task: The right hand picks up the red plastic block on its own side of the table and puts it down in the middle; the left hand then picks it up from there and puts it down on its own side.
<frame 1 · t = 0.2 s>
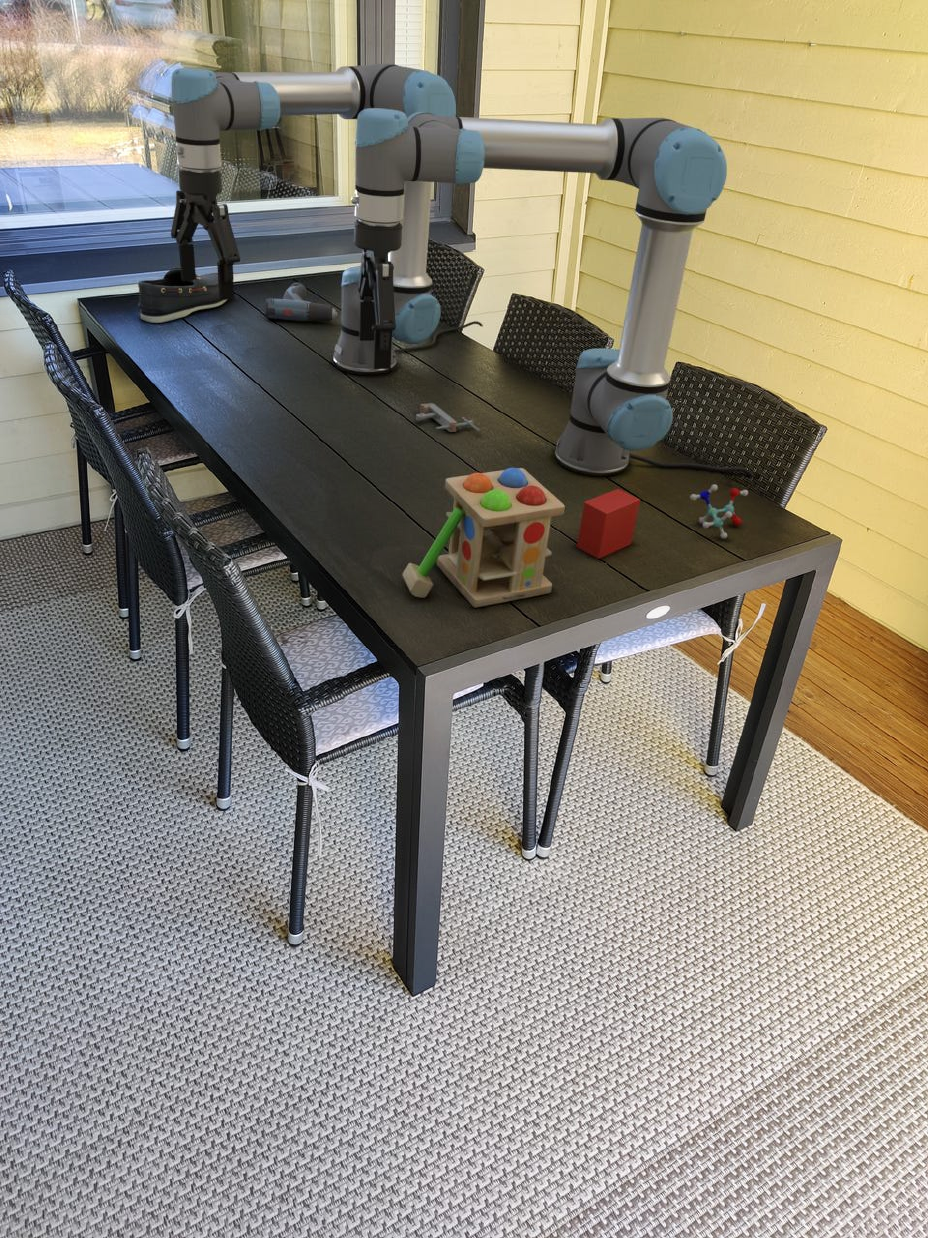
left hand: (207, 289, 186), 28 cm above the table, tool pointing down, fingers open, 13 cm apart
right hand: (374, 353, 165), 28 cm above the table, tool pointing down, fingers open, 13 cm apart
block: (604, 545, 174), on the table
boat shoe: (186, 307, 263), on the table
molecular model: (712, 527, 183), on the table
clamp: (444, 425, 212), on the table
power drill: (305, 313, 267), on the table
pounding bench toy: (470, 583, 160), on the table
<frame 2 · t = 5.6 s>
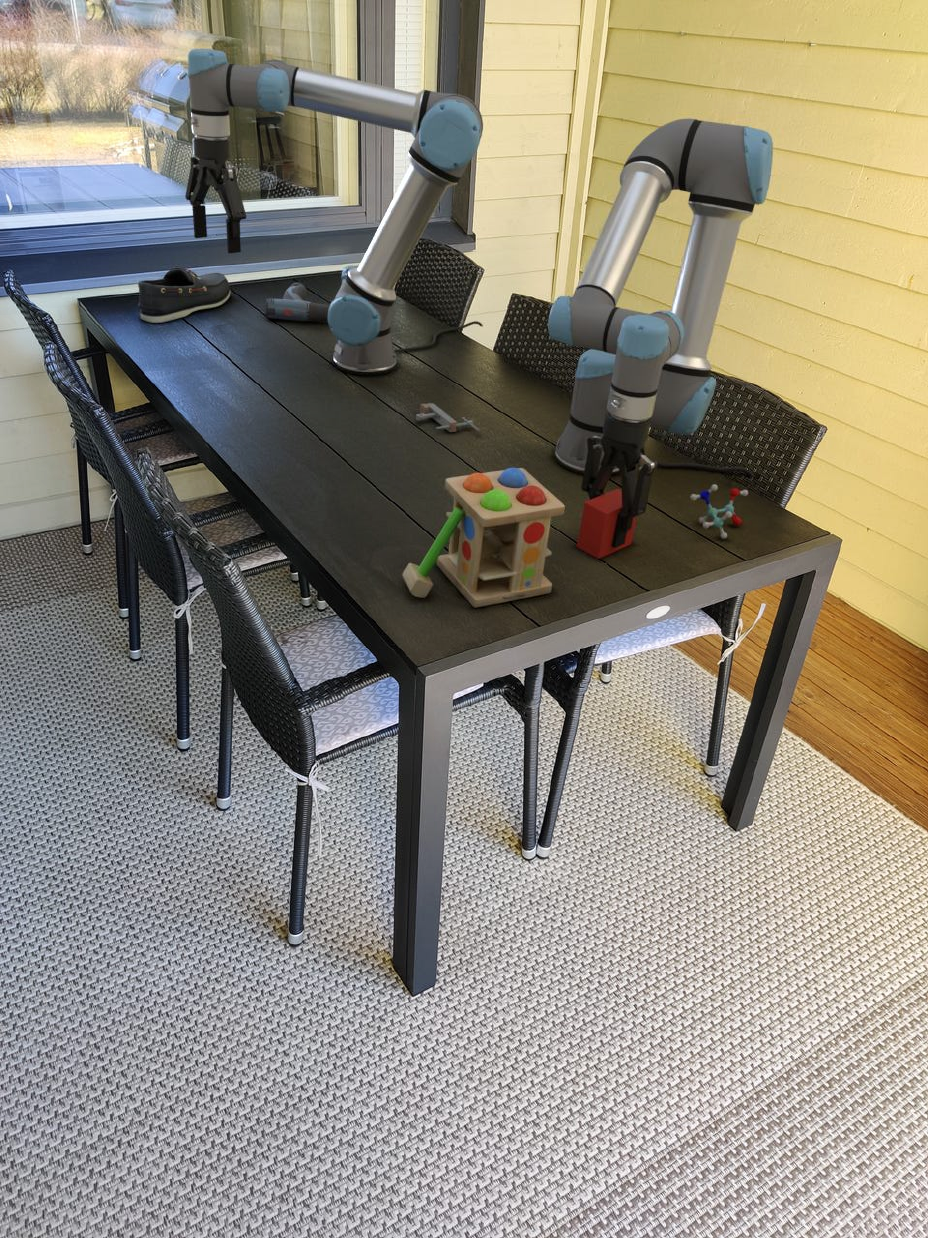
left hand: (217, 244, 212), 28 cm above the table, tool pointing down, fingers open, 13 cm apart
right hand: (605, 537, 173), 2 cm above the table, tool pointing down, fingers closed on block, 5 cm apart
block: (604, 545, 174), on the table, touching right hand
everything else where it was.
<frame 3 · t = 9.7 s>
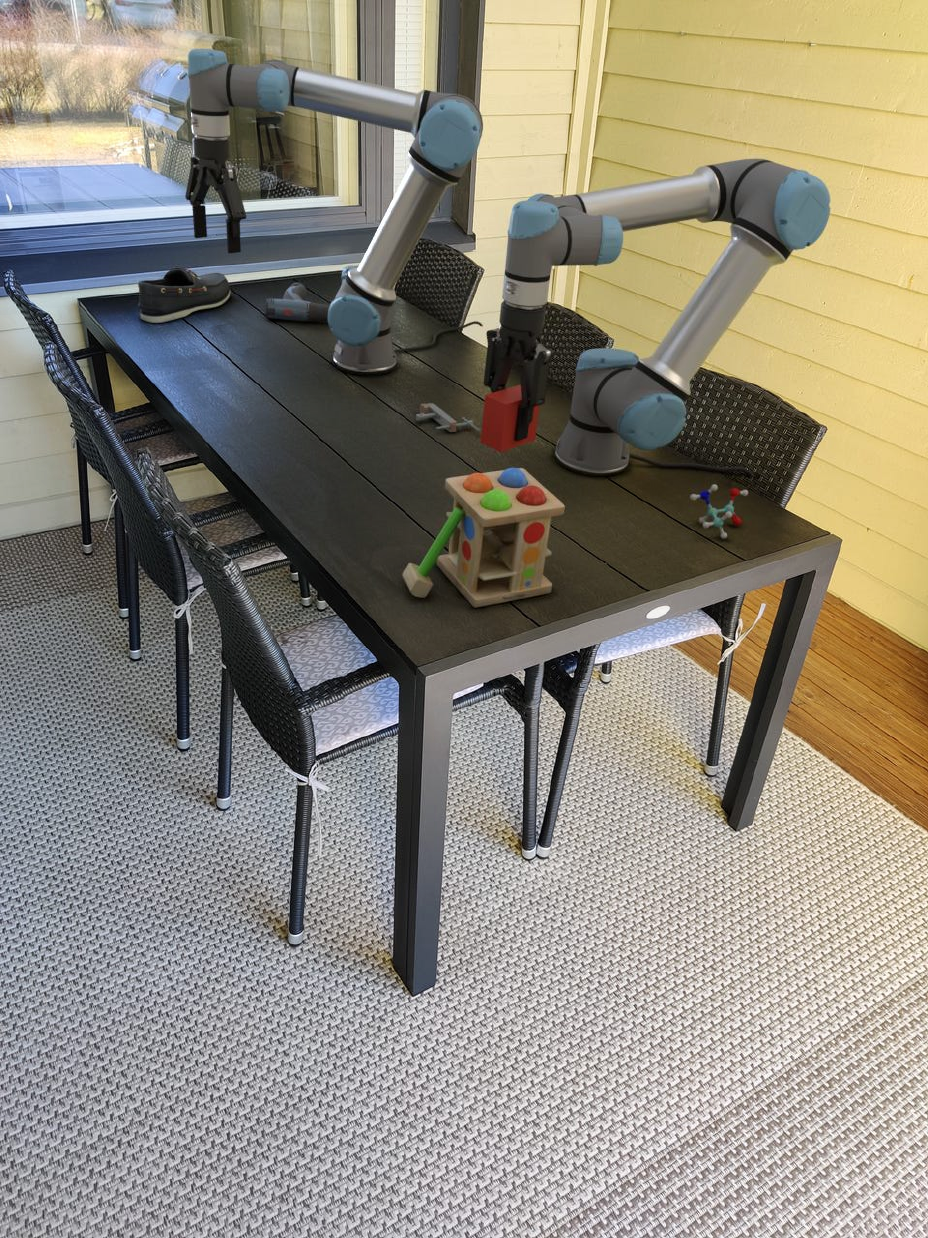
left hand: (217, 244, 212), 28 cm above the table, tool pointing down, fingers open, 13 cm apart
right hand: (508, 433, 175), 15 cm above the table, tool pointing down, fingers closed on block, 5 cm apart
block: (507, 441, 176), point 13 cm above the table, touching right hand
everything else where it was.
when the right hand's fingers open (3 cm above the table, at t = 13.9 s): block drops 2 cm, on the table.
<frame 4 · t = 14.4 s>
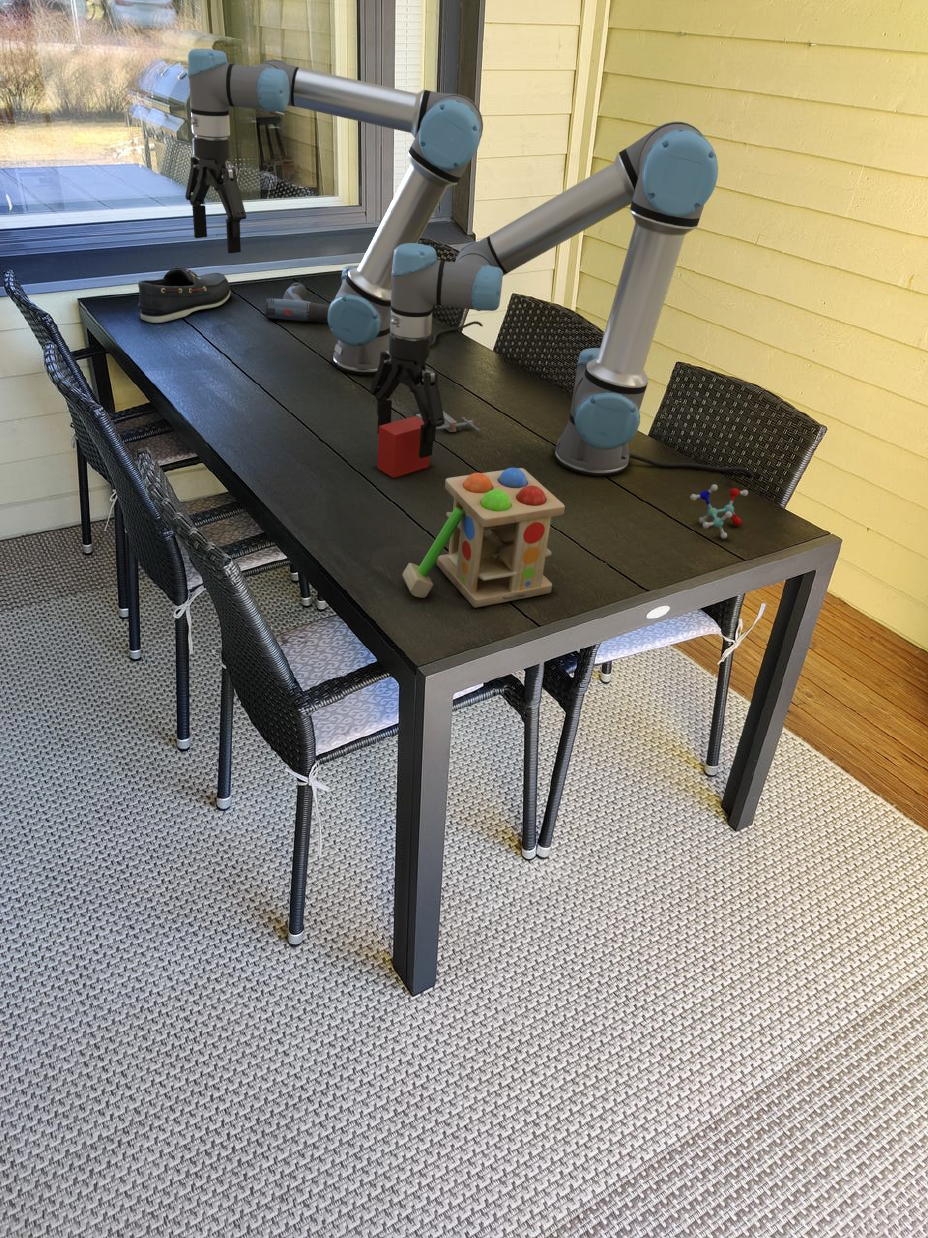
left hand: (217, 244, 212), 28 cm above the table, tool pointing down, fingers open, 13 cm apart
right hand: (404, 444, 190), 5 cm above the table, tool pointing down, fingers open, 12 cm apart
block: (403, 467, 193), on the table
everything else where it was.
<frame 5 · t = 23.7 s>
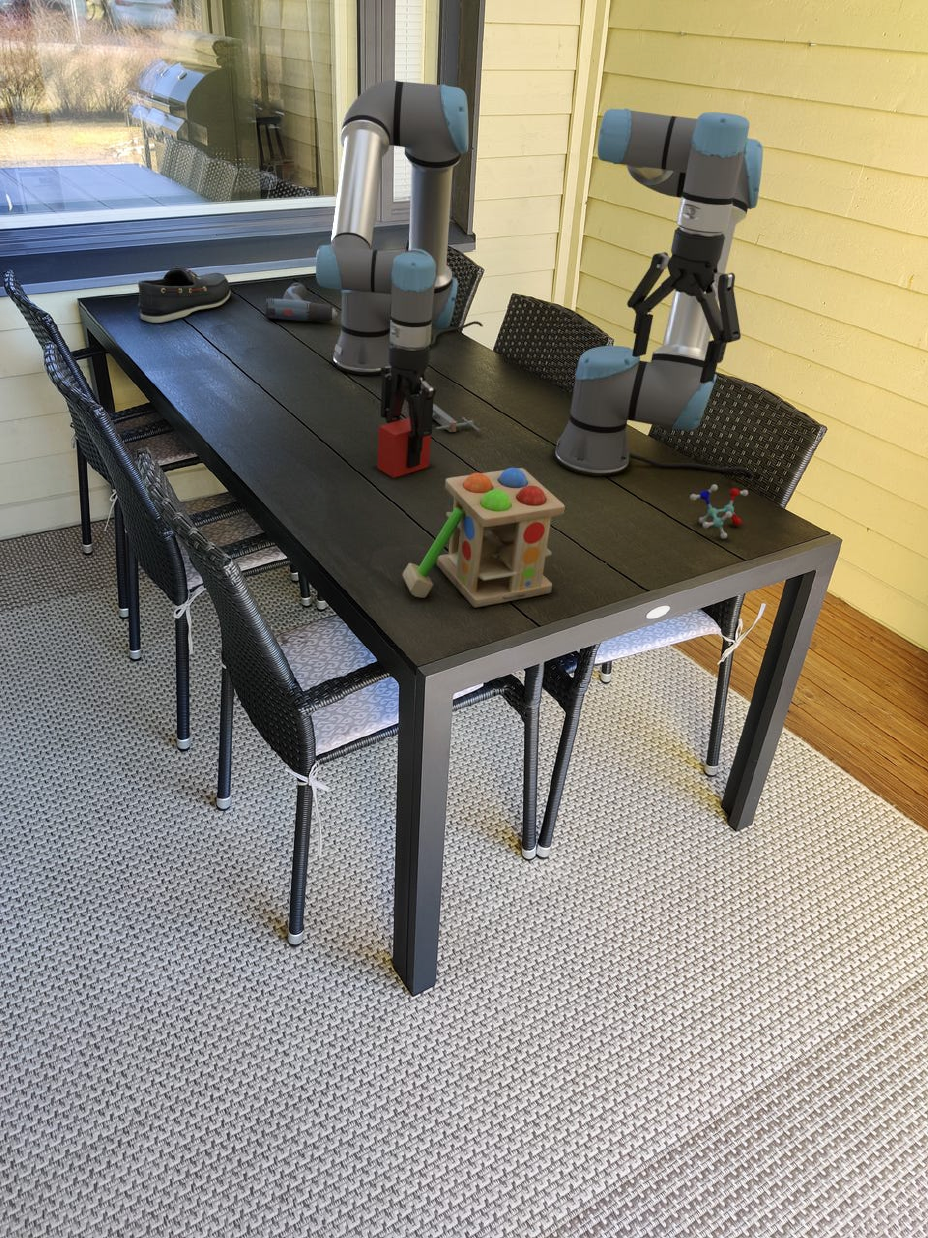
left hand: (403, 460, 192), 2 cm above the table, tool pointing down, fingers closed on block, 5 cm apart
right hand: (671, 368, 158), 32 cm above the table, tool pointing down, fingers open, 13 cm apart
block: (403, 467, 193), on the table, touching left hand
everything else where it was.
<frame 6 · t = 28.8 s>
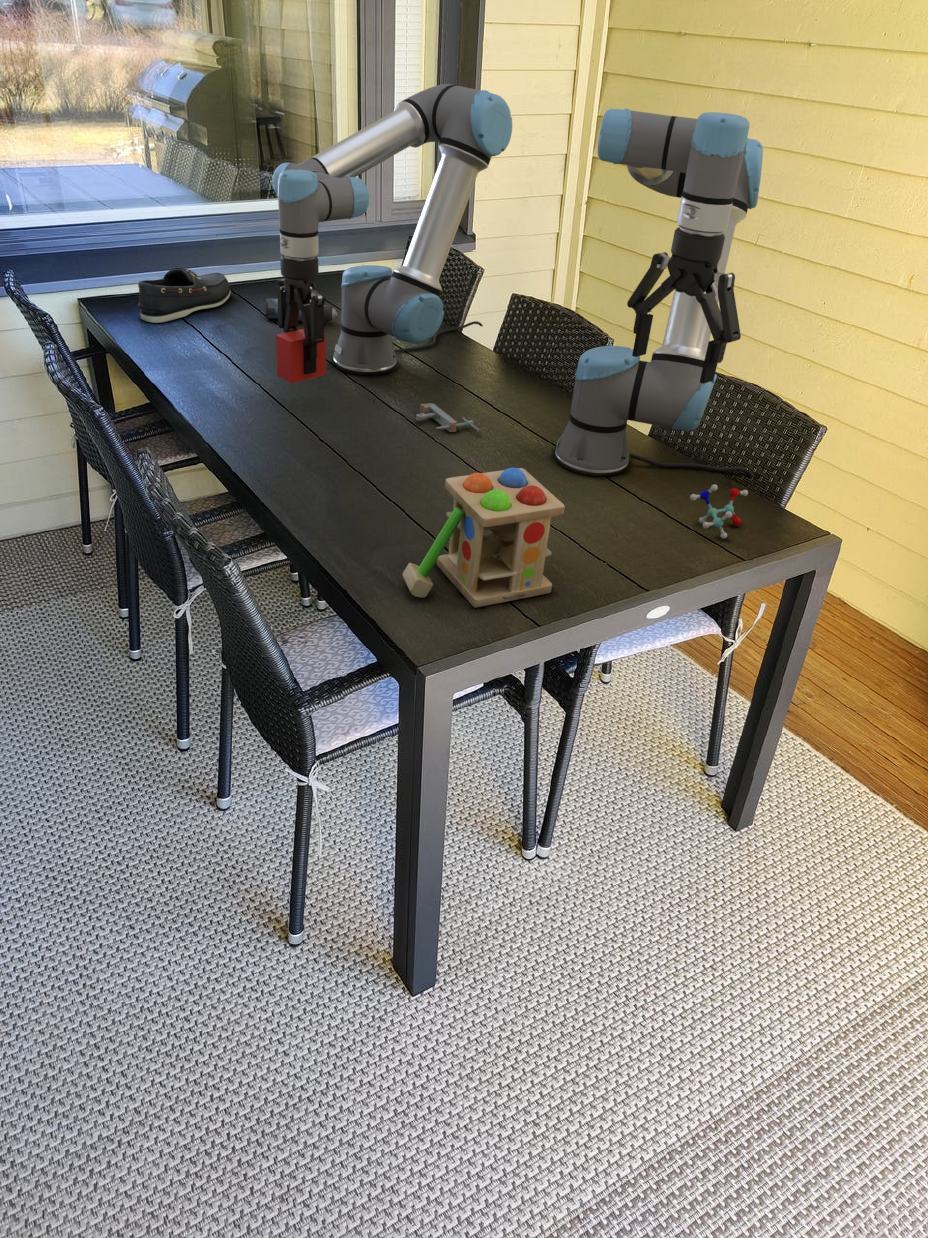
left hand: (301, 368, 208), 9 cm above the table, tool pointing down, fingers closed on block, 5 cm apart
right hand: (671, 368, 158), 32 cm above the table, tool pointing down, fingers open, 13 cm apart
block: (301, 375, 209), point 7 cm above the table, touching left hand
everything else where it was.
when the left hand's fingers open (3 cm above the table, at t = 33.8 s): block drops 2 cm, on the table.
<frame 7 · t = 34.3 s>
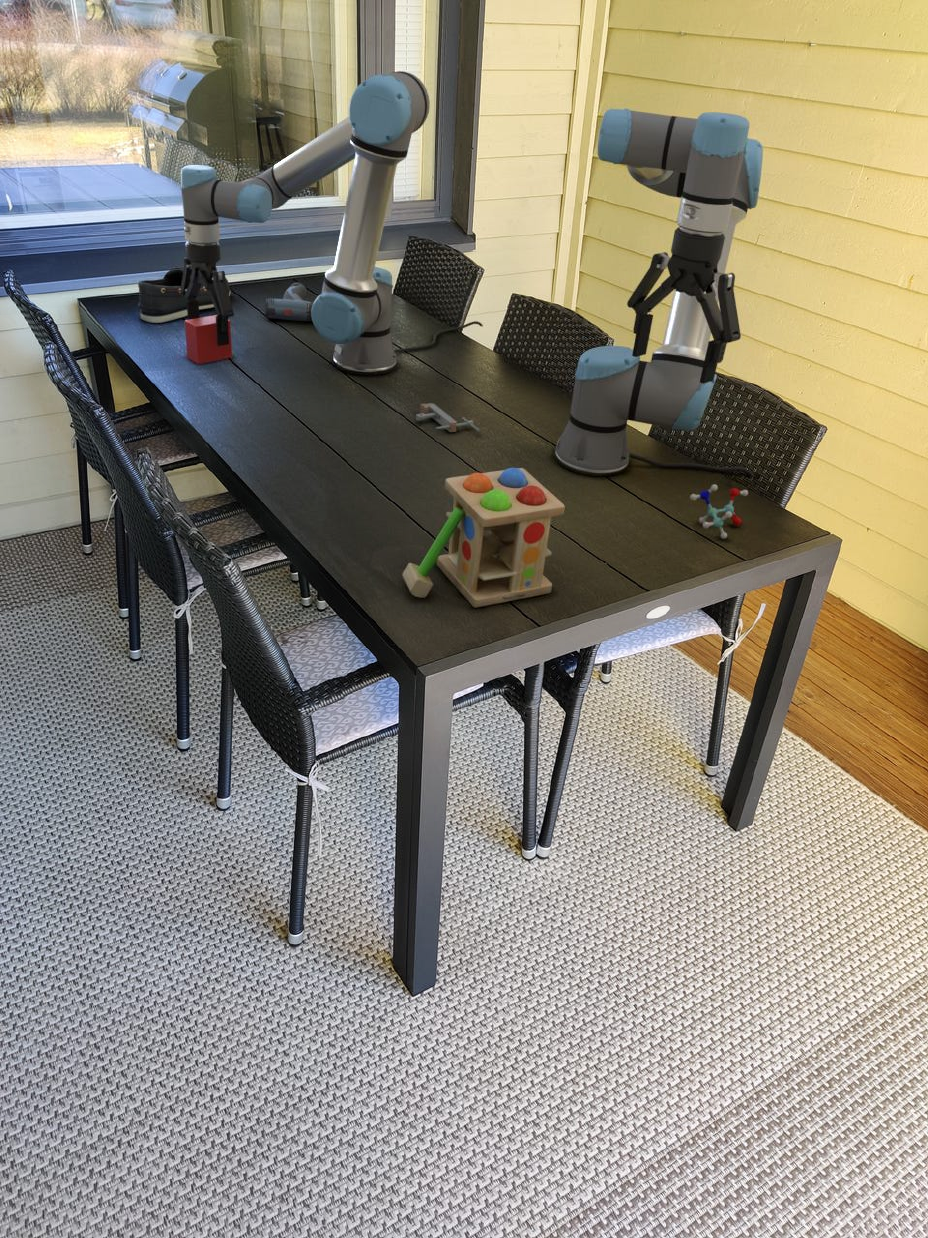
left hand: (208, 336, 231), 5 cm above the table, tool pointing down, fingers open, 12 cm apart
right hand: (671, 368, 158), 32 cm above the table, tool pointing down, fingers open, 13 cm apart
block: (209, 357, 234), on the table
everything else where it was.
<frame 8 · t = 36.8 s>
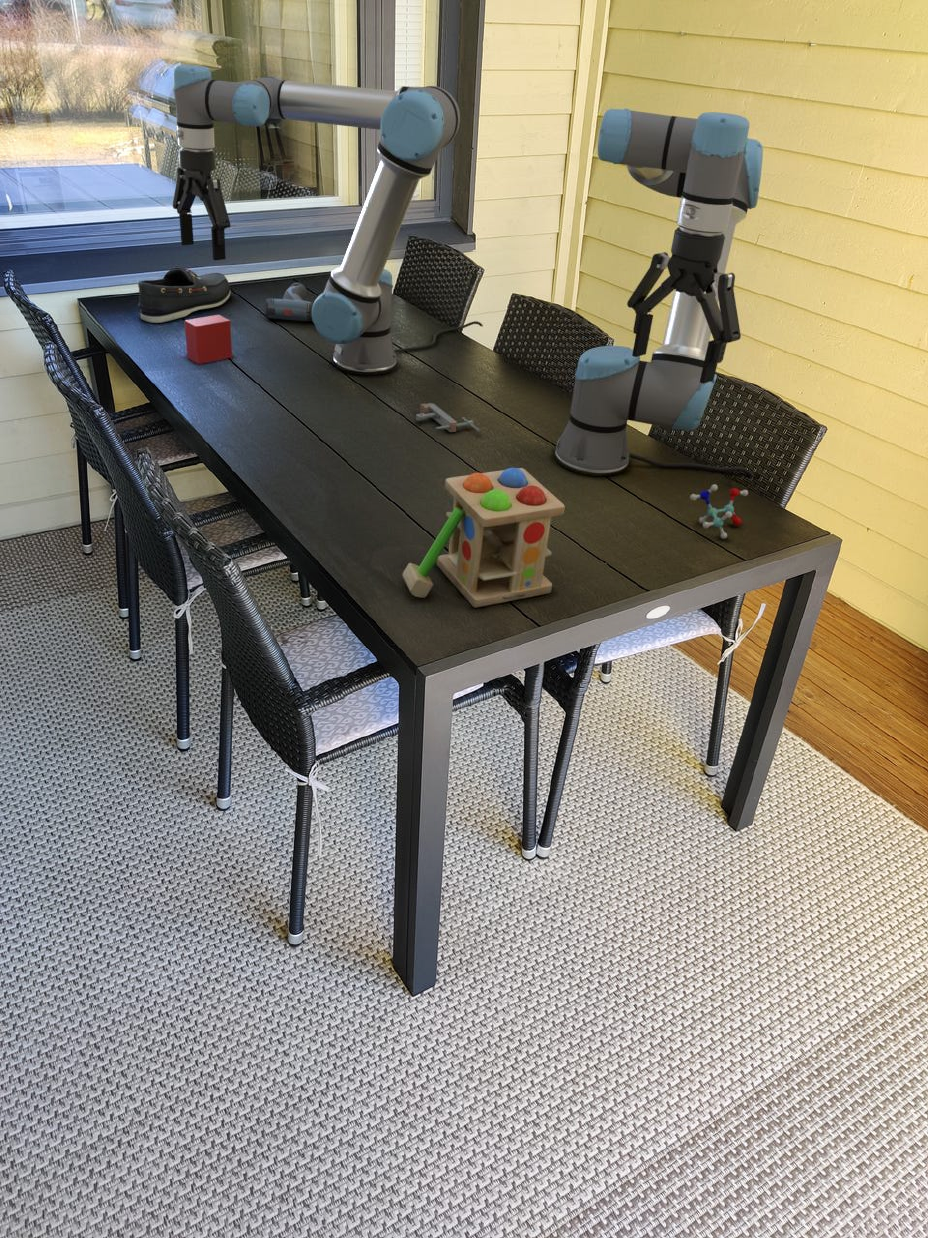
left hand: (203, 251, 220), 24 cm above the table, tool pointing down, fingers open, 13 cm apart
right hand: (671, 368, 158), 32 cm above the table, tool pointing down, fingers open, 13 cm apart
nothing on the table moved.
at the end: block inside the target area (0.1 cm from its centre), on the table; block tilted 0°; the two hands never held the block at the same time; the left hand is holding nothing; the right hand is holding nothing; block at rest at the end (0.0 cm/s) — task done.
